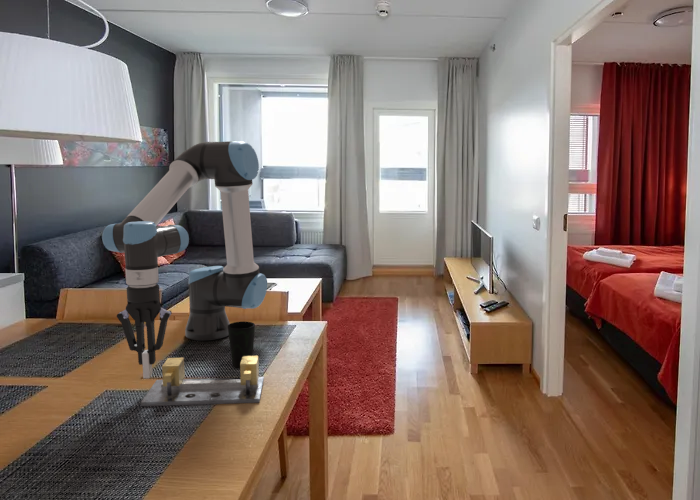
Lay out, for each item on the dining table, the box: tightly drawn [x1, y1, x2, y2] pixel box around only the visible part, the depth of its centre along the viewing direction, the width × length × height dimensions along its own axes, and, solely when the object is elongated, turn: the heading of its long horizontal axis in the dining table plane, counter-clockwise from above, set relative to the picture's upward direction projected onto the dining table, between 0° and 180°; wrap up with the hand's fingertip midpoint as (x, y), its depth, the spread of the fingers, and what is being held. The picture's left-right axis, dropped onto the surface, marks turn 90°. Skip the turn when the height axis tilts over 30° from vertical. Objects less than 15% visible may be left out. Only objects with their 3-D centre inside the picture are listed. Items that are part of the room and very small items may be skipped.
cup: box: [228, 320, 256, 370], centre depth 157 cm, size 8×8×12 cm
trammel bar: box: [161, 355, 260, 395], centre depth 137 cm, size 10×24×7 cm, turn 95°
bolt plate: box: [140, 376, 265, 407], centre depth 138 cm, size 14×28×1 cm, turn 95°
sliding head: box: [161, 357, 186, 396], centre depth 136 cm, size 10×4×7 cm, turn 5°
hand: (147, 376), depth 137 cm, fingers closed
